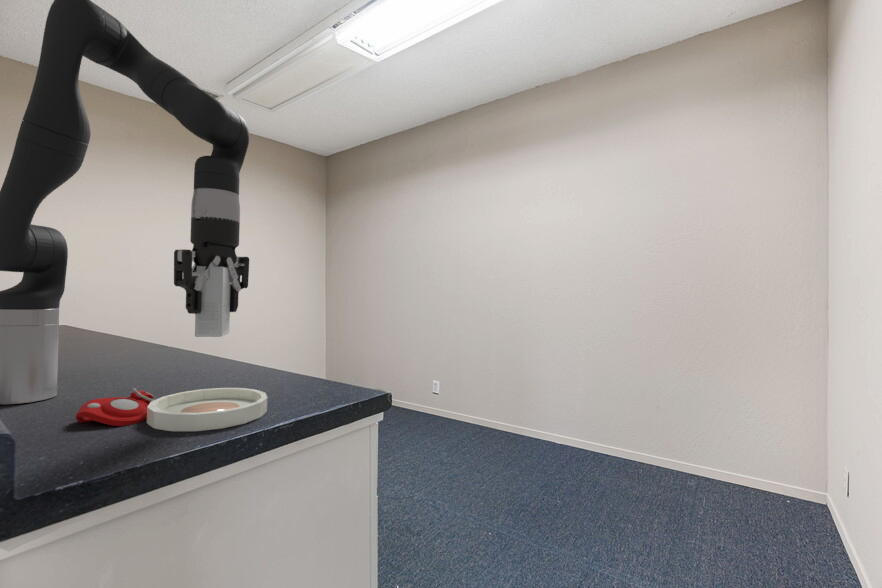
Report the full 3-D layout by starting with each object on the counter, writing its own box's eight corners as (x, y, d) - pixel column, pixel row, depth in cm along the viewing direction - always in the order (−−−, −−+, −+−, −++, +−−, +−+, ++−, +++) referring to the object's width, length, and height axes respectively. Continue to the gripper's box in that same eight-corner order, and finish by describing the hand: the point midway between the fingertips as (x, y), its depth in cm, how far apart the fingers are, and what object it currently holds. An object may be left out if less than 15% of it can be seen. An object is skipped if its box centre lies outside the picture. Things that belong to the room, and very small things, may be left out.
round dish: (120, 422, 67) (121, 406, 67) (212, 397, 84) (213, 384, 84) (207, 437, 62) (208, 420, 62) (287, 407, 79) (287, 393, 79)
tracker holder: (153, 417, 67) (74, 410, 62) (144, 442, 68) (66, 437, 62) (160, 385, 78) (94, 377, 72) (153, 407, 78) (86, 400, 73)
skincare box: (203, 333, 75) (206, 267, 75) (229, 333, 76) (231, 268, 76) (193, 337, 69) (195, 265, 69) (221, 337, 71) (223, 266, 71)
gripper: (231, 226, 81) (228, 310, 81) (161, 211, 67) (158, 313, 67) (262, 225, 79) (260, 312, 79) (197, 209, 65) (194, 315, 65)
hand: (213, 312), depth 73 cm, fingers closed on skincare box, 7 cm apart
